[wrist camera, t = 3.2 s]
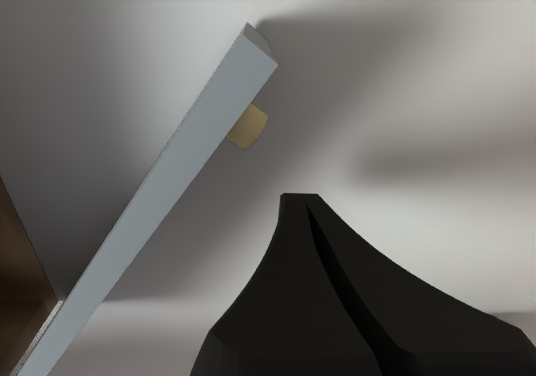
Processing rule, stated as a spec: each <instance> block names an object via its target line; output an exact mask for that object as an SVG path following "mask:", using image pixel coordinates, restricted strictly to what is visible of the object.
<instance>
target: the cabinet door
mask: <svg viewBox="0 0 536 376" xmlns="http://www.w3.org/2000/svg"><path fill="white" fill-rule="evenodd" d="M277 66H278V63H277V61H276V58H275V56H274V54H273V52H272V50H271V48H270V45H269V43H268V41H267V39H266V38H265V37H264V36H263V35H262V34H260V33H259V32H258V31H257V30H256V29H255V28H254V27H252V26H251V25H250V24H249V23H248V22H247V24H246V25H245V27H244V28H243V30H242V31H241V33H240V34H239V36H238V37H237V39H236V40H235V42H234V43H233V45H232V46H231V48H230V49H229V51H228V53H227V54H226V56H225V57H224V59H223V60H222V62H221V63H220V65H219V66H218V68H217V69H216V71H215V72H214V74H213V75H212V77H211V78H210V80H209V81H208V83H207V84H206V86H205V88H204V89H203V91H202V92H201V94H200V95H199V97H198V98H197V100H196V101H195V103H194V104H193V106H192V107H191V109H190V110H189V112H188V113H187V115H186V116H185V118H184V119H183V121H182V123H181V124H180V126H179V127H178V129H177V130H176V132H175V133H174V135H173V136H172V138H171V139H170V141H169V142H168V144H167V145H166V147H165V148H164V150H163V151H162V153H161V155H160V156H159V158H158V159H157V161H156V162H155V164H154V165H153V167H152V168H151V170H150V171H149V173H148V174H147V176H146V177H145V179H144V180H143V182H142V183H141V185H140V186H139V188H138V190H137V191H136V193H135V194H134V196H133V197H132V199H131V200H130V202H129V203H128V205H127V206H126V208H125V209H124V211H123V212H122V214H121V215H120V217H119V218H118V220H117V221H116V223H115V225H114V226H113V228H112V229H111V231H110V232H109V234H108V235H107V237H106V238H105V240H104V241H103V243H102V244H101V246H100V247H99V249H98V250H97V252H96V253H95V255H94V256H93V258H92V260H91V261H90V263H89V264H88V266H87V267H86V269H85V270H84V272H83V273H82V275H81V276H80V278H79V279H78V281H77V282H76V284H75V285H74V287H73V288H72V290H71V291H70V293H69V295H68V296H67V298H66V299H65V301H64V302H63V304H62V305H61V307H60V308H59V310H58V311H57V313H56V315H55V316H54V318H53V319H52V321H51V322H50V324H49V325H48V327H47V329H46V330H45V332H44V333H43V335H42V336H41V338H40V339H39V341H38V343H37V344H36V346H35V347H34V349H33V350H32V352H31V353H30V355H29V357H28V358H27V360H26V361H25V363H24V364H23V366H22V367H21V369H20V371H19V372H18V374H17V375H16V376H47V374H48V373H49V372H50V370H51V369H52V368H53V366H54V365H55V364H56V362H57V361H58V360H59V358H60V357H61V356H62V354H63V353H64V352H65V350H66V349H67V347H68V346H69V345H70V343H71V342H72V341H73V339H74V338H75V337H76V335H77V334H78V333H79V331H80V330H81V329H82V327H83V326H84V325H85V323H86V322H87V321H88V319H89V318H90V317H91V315H92V314H93V313H94V311H95V310H96V309H97V307H98V306H99V305H100V303H101V302H102V301H103V299H104V298H105V297H106V295H107V294H108V293H109V291H110V290H111V289H112V287H113V286H114V285H115V283H116V282H117V281H118V279H119V278H120V277H121V275H122V274H123V273H124V271H125V270H126V269H127V267H128V266H129V265H130V263H131V262H132V261H133V259H134V258H135V256H136V255H137V254H138V252H139V251H140V250H141V248H142V247H143V246H144V244H145V243H146V242H147V240H148V239H149V238H150V236H151V235H152V234H153V232H154V231H155V230H156V228H157V227H158V226H159V224H160V223H161V222H162V220H163V219H164V218H165V216H166V215H167V214H168V212H169V211H170V210H171V208H172V207H173V206H174V204H175V203H176V202H177V200H178V199H179V198H180V196H181V195H182V194H183V192H184V191H185V190H186V188H187V187H188V186H189V184H190V183H191V182H192V180H193V179H194V178H195V176H196V175H197V174H198V172H199V171H200V170H201V168H202V167H203V166H204V164H205V163H206V161H207V160H208V159H209V157H210V156H211V155H212V153H213V152H214V151H215V149H216V148H217V147H218V145H219V144H220V143H221V141H222V140H223V139H224V137H226V138H227V139H229V140H230V141H232V142H233V143H234V144H236V145H237V146H239V147H240V148H242V149H243V150H246V149H248V148H249V147H250V146H251V145H252V144H253V143H254V142H255V141H256V139H257V138H258V137H259V135H260V134H261V132H262V131H263V129H264V127H265V125H266V123H267V120H268V115H266V114H265V113H264V112H262V111H261V110H260V109H258V108H257V107H256V106H255V105H253V104H252V103H251V101H252V100H253V99H254V97H255V96H256V95H257V93H258V92H259V91H260V89H261V88H262V87H263V85H264V84H265V83H266V81H267V80H268V79H269V77H270V76H271V75H272V73H273V72H274V70H275V69H276V68H277Z"/></svg>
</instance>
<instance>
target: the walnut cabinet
mask: <svg viewBox="0 0 536 376" xmlns="http://www.w3.org/2000/svg"><path fill="white" fill-rule="evenodd" d="M57 303H58V301H57V299H56V297H55V294H54V292H53V290H52V288H51V286H50V284H49V282H48V279H47V277H46V275H45V273H44V271H43V269H42V267H41V264H40V262H39V260H38V258H37V256H36V254H35V252H34V249H33V247H32V245H31V243H30V241H29V239H28V237H27V234H26V232H25V230H24V228H23V226H22V224H21V222H20V219H19V217H18V215H17V213H16V211H15V209H14V207H13V204H12V202H11V200H10V198H9V196H8V194H7V191H6V189H5V187H4V185H3V183H2V181H1V179H0V376H9V375H10V373H11V372H12V370H13V369H14V367H15V366H16V364H17V363H18V361H19V360H20V358H21V357H22V355H23V354H24V352H25V351H26V349H27V348H28V346H29V345H30V343H31V342H32V340H33V339H34V337H35V336H36V334H37V333H38V331H39V330H40V328H41V327H42V325H43V324H44V322H45V321H46V319H47V318H48V316H49V315H50V313H51V312H52V310H53V309H54V307H55V306H56V304H57Z"/></svg>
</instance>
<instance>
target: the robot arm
mask: <svg viewBox="0 0 536 376" xmlns="http://www.w3.org/2000/svg"><path fill="white" fill-rule="evenodd" d="M190 376H536V347H535V346H534V345H533V343H532V342H531V341H530V340H529V339H528V337H527V336H526V335H525V334H524V333H523V331H522V330H521V329H520V328H517V327H515V326H513V325H511V324H509V323H506V322H504V321H502V320H500V319H497V318H495V317H493V316H491V315H489V314H486V313H484V312H482V311H480V310H478V309H475V308H473V307H471V306H469V305H467V304H465V303H463V302H461V301H459V300H457V299H455V298H454V297H452V296H450V295H448V294H446V293H444V292H442V291H440V290H439V289H437V288H435V287H433V286H431V285H430V284H428V283H426V282H424V281H423V280H421V279H420V278H418V277H416V276H415V275H413V274H411V273H410V272H408V271H407V270H405V269H404V268H402V267H400V266H399V265H397V264H396V263H395V262H393V261H392V260H390V259H389V258H388V257H386V256H385V255H383V254H382V253H381V252H379V251H378V250H377V249H375V248H374V247H373V246H372V245H370V244H369V243H368V242H367V241H366V240H364V239H363V238H362V237H361V236H360V235H359V234H357V233H356V232H355V231H354V230H353V229H352V228H351V227H350V226H349V225H348V224H347V223H345V222H344V221H343V220H342V219H341V218H340V217H339V216H338V215H337V214H336V213H335V212H334V211H333V210H332V209H331V208H330V206H329V205H328V204H327V203H326V202H325V201H324V200H323V199H322V198H321V197H320V196H319V195H318V194H303V193H283V194H282V195H281V196H280V206H279V217H278V223H277V226H276V229H275V232H274V234H273V237H272V240H271V242H270V244H269V247H268V249H267V251H266V253H265V255H264V257H263V259H262V261H261V262H260V264H259V266H258V267H257V269H256V271H255V273H254V274H253V276H252V277H251V279H250V280H249V282H248V283H247V285H246V286H245V288H244V289H243V290H242V292H241V293H240V294H239V296H238V297H237V298H236V300H235V301H234V303H233V304H232V305H231V306H230V308H229V309H228V310H227V311H226V312H225V313H224V314H223V316H222V317H221V318H220V319H219V320H218V321H217V322H216V324H215V325H214V326H213V327H212V328H211V329H210V330H209V332H208V334H207V336H206V338H205V341H204V343H203V345H202V347H201V349H200V351H199V354H198V356H197V358H196V361H195V363H194V366H193V368H192V371H191V374H190Z"/></svg>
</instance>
